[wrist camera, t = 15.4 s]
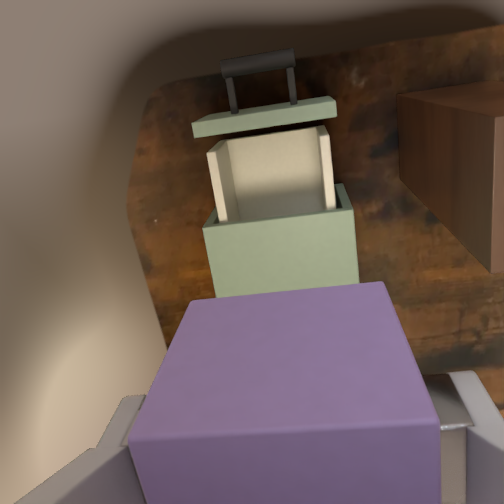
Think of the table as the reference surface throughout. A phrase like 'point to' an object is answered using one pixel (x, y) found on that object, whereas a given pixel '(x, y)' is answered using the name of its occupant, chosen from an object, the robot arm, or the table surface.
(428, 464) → the lavender cube
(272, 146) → the drawer
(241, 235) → the sage green nightstand
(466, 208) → the stand
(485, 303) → the table surface
